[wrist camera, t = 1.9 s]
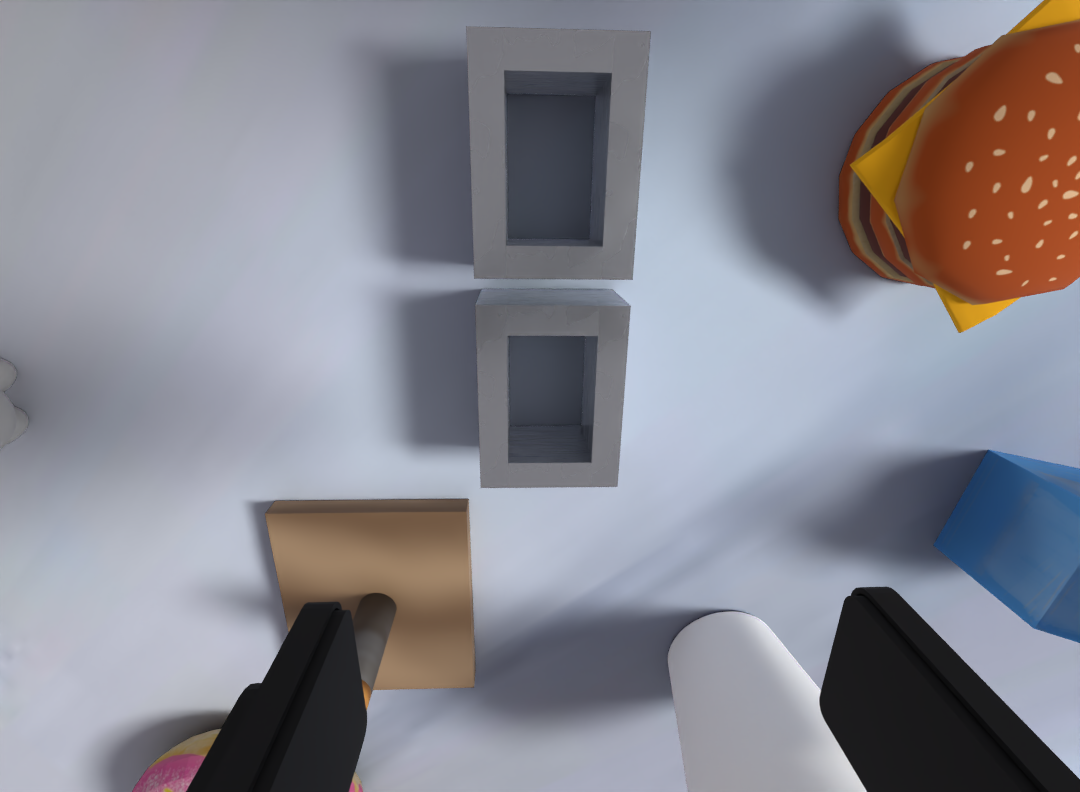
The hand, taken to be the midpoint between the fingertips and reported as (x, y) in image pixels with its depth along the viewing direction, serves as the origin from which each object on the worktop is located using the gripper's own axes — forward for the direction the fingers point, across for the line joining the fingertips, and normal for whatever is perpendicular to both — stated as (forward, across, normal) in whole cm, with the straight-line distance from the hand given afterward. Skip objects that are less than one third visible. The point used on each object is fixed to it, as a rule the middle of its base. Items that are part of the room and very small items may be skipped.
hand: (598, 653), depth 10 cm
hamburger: (+17, -17, -9) cm, 26 cm away
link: (+16, 0, 0) cm, 17 cm away
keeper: (+16, +9, +13) cm, 23 cm away
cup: (+17, -11, +18) cm, 27 cm away
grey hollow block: (+16, 0, -9) cm, 19 cm away
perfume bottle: (+17, -26, +8) cm, 32 cm away
